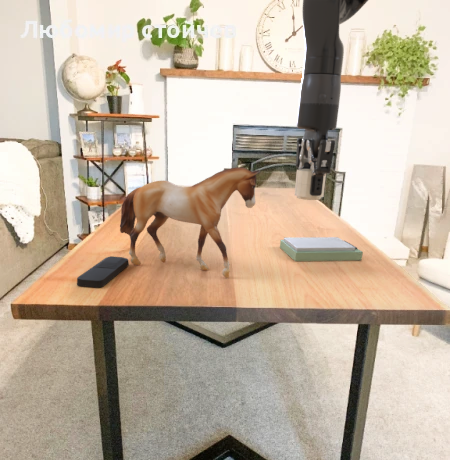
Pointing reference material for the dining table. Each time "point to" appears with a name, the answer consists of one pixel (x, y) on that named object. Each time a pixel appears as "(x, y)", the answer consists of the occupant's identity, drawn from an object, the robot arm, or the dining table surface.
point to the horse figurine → (186, 208)
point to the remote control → (102, 272)
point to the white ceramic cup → (306, 185)
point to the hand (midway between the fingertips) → (309, 192)
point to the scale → (319, 249)
